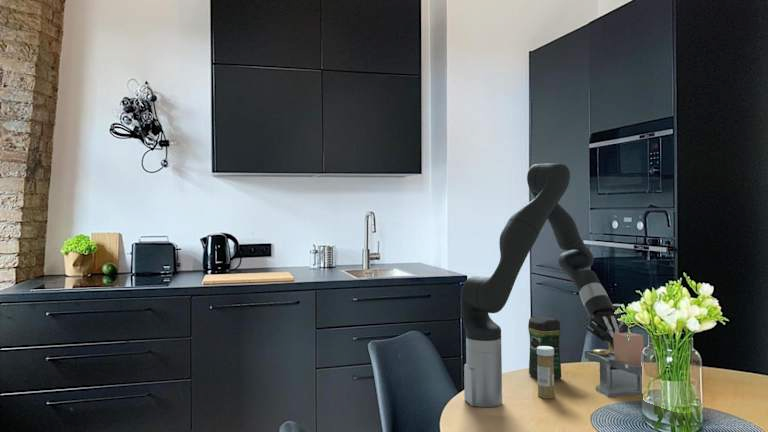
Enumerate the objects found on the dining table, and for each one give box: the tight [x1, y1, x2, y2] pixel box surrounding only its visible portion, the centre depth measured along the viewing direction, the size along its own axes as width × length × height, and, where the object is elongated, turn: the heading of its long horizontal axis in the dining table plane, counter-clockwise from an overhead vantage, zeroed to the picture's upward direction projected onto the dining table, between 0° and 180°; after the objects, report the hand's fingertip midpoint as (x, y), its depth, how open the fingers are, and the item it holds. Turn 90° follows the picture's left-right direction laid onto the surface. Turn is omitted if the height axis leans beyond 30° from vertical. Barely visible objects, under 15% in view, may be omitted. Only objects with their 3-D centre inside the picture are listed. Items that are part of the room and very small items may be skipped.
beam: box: [584, 349, 642, 375], centre depth 157 cm, size 8×26×2 cm, turn 10°
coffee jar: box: [527, 315, 562, 382], centre depth 172 cm, size 10×8×19 cm
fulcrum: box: [595, 357, 643, 398], centre depth 156 cm, size 12×6×10 cm, turn 100°
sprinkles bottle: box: [537, 346, 556, 400], centre depth 154 cm, size 5×5×14 cm
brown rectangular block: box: [613, 332, 645, 366], centre depth 153 cm, size 5×6×8 cm
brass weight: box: [592, 348, 609, 357], centre depth 166 cm, size 4×4×2 cm
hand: (621, 352), depth 156 cm, fingers closed
